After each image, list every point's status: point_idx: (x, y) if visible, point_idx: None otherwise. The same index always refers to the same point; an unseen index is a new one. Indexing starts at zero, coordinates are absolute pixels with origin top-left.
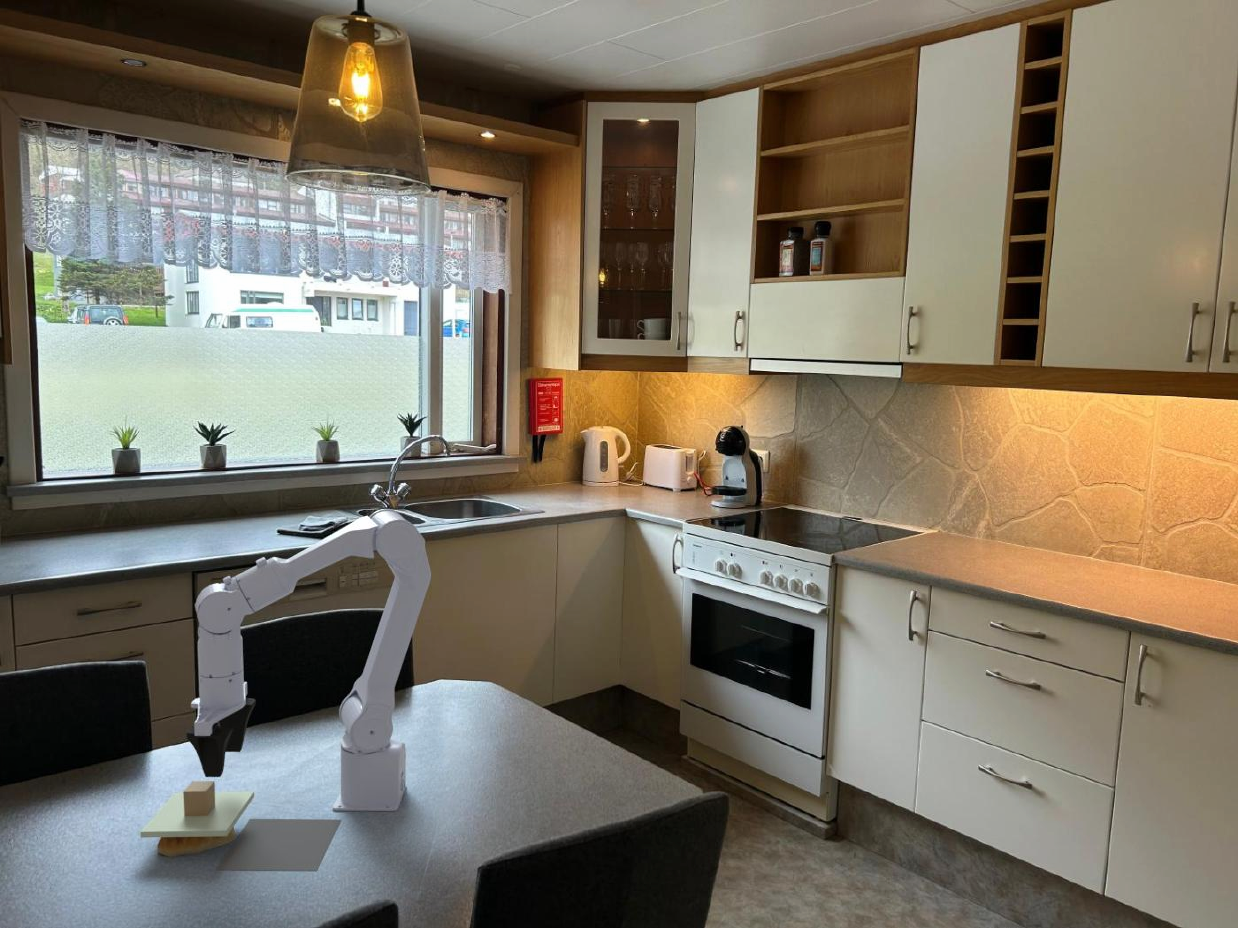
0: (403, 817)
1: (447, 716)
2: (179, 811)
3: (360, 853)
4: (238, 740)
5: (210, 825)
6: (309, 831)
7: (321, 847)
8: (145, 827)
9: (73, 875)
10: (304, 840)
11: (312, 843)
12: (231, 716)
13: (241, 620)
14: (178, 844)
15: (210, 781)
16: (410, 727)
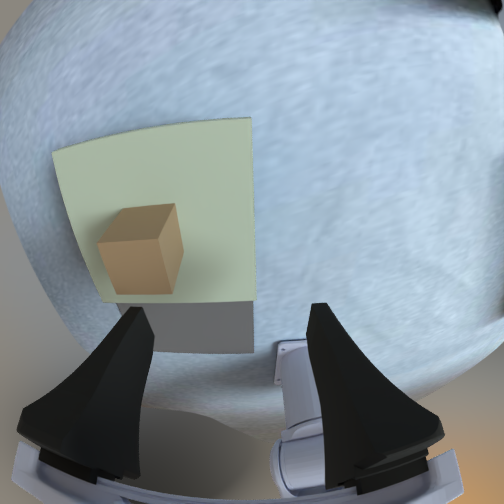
0: (263, 385)
1: (464, 351)
2: (141, 184)
3: (185, 371)
4: (313, 363)
5: (106, 274)
6: (219, 333)
7: (184, 348)
8: (66, 150)
9: (48, 56)
10: (196, 333)
11: (190, 340)
12: (337, 435)
13: None
14: None
15: (168, 285)
16: (462, 336)
